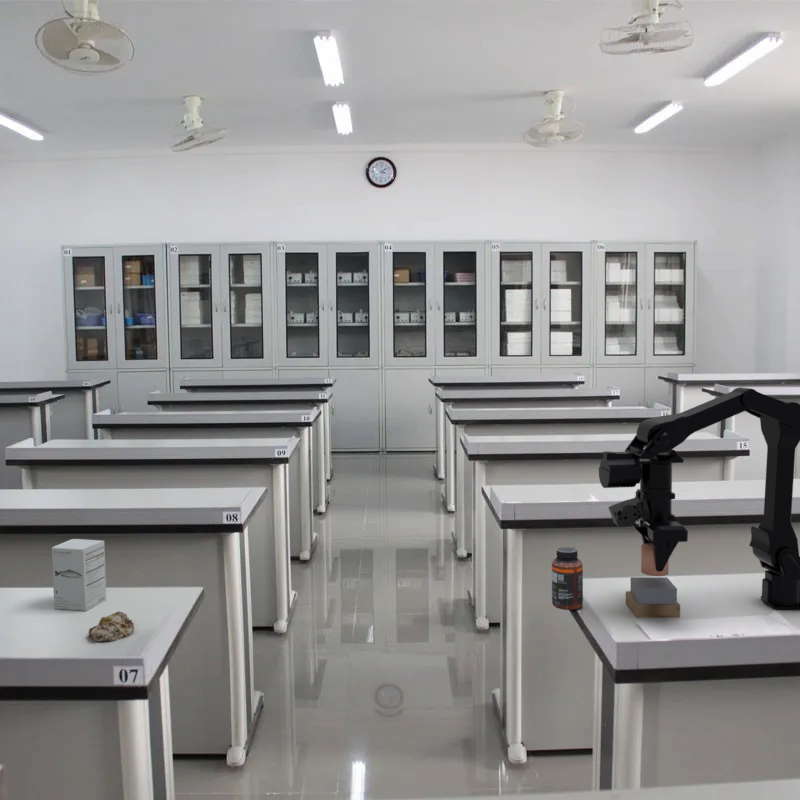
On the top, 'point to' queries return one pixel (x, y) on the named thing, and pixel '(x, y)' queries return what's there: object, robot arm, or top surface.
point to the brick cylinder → (651, 562)
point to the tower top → (653, 590)
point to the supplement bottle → (567, 579)
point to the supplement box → (79, 574)
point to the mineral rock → (112, 628)
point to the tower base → (652, 609)
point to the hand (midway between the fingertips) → (655, 567)
